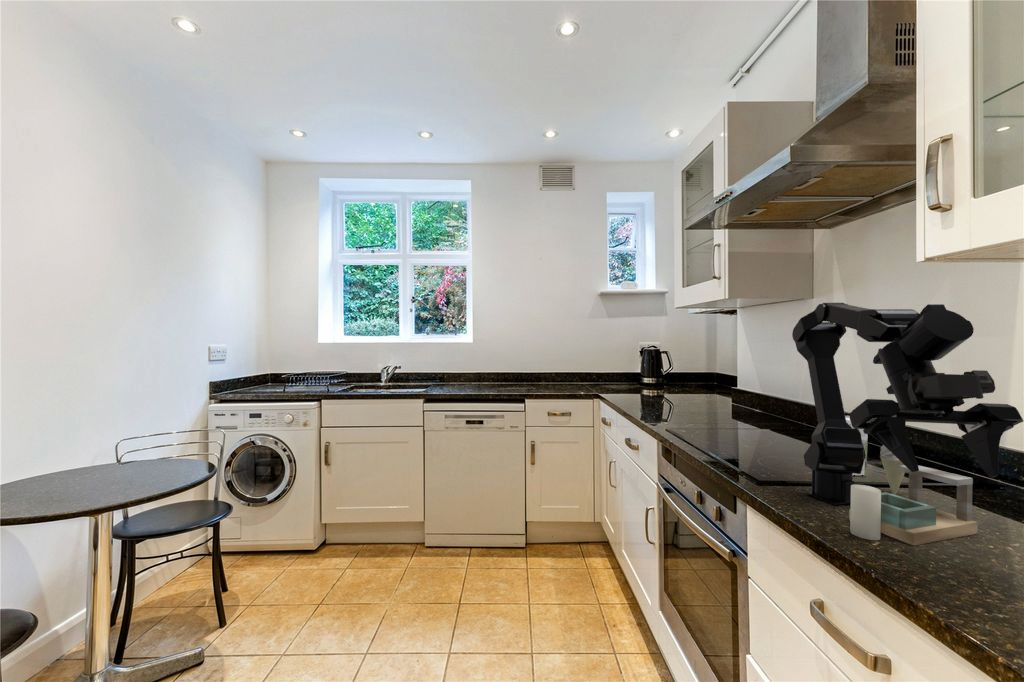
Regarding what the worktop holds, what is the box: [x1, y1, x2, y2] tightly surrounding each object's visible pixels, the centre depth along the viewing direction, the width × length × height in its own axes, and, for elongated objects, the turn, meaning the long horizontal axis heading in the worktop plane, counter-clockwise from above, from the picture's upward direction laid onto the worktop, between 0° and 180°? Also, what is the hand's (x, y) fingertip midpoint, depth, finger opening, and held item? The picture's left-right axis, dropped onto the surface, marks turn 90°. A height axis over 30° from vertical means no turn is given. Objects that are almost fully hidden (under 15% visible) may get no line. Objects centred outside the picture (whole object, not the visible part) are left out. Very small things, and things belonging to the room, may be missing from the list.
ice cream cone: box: [879, 445, 906, 495], centre depth 92 cm, size 5×5×15 cm
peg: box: [849, 484, 882, 541], centre depth 72 cm, size 4×4×8 cm
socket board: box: [848, 465, 979, 546], centre depth 76 cm, size 10×16×10 cm, turn 107°
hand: (954, 474), depth 59 cm, fingers open, 9 cm apart
